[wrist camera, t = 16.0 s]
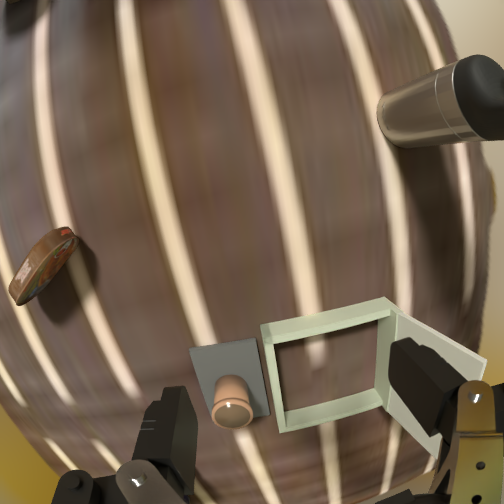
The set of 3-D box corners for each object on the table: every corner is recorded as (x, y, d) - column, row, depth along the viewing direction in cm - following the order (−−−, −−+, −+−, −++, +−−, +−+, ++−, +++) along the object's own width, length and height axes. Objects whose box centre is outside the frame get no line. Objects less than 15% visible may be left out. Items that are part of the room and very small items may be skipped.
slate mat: (255, 337, 43) (255, 340, 42) (269, 411, 47) (270, 414, 46) (189, 347, 43) (188, 350, 42) (213, 420, 46) (213, 423, 46)
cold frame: (398, 293, 43) (488, 360, 22) (390, 386, 48) (446, 463, 27) (260, 324, 43) (287, 437, 21) (276, 418, 47) (299, 518, 26)
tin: (39, 296, 39) (11, 316, 31) (28, 281, 38) (-2, 299, 30) (88, 234, 38) (59, 247, 29) (75, 218, 37) (44, 227, 29)
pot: (245, 370, 43) (249, 399, 36) (251, 397, 45) (255, 426, 38) (208, 375, 43) (207, 405, 36) (217, 402, 44) (216, 431, 38)
